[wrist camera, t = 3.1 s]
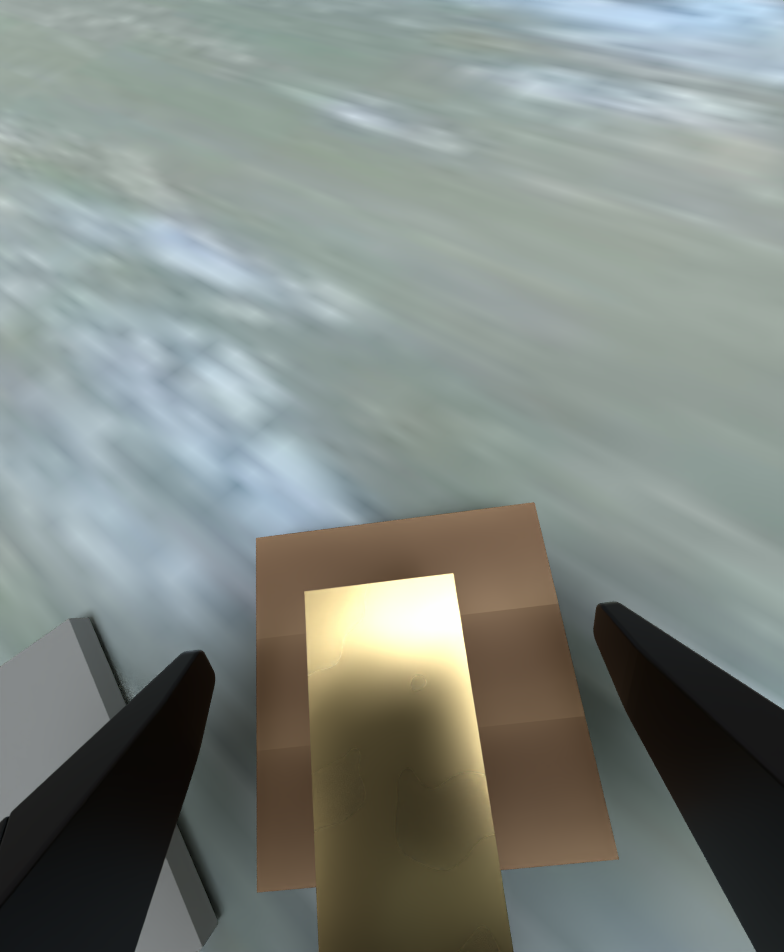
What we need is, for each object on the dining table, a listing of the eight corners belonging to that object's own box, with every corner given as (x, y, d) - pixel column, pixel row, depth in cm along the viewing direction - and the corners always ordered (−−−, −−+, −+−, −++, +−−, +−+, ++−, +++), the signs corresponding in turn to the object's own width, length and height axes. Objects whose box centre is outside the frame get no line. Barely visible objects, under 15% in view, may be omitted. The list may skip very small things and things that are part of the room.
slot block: (577, 804, 13) (618, 859, 11) (291, 833, 14) (256, 892, 11) (515, 519, 17) (534, 502, 14) (284, 549, 17) (256, 538, 14)
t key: (456, 732, 14) (518, 984, 5) (388, 739, 14) (321, 999, 5) (436, 591, 16) (453, 572, 6) (375, 598, 16) (304, 591, 7)
